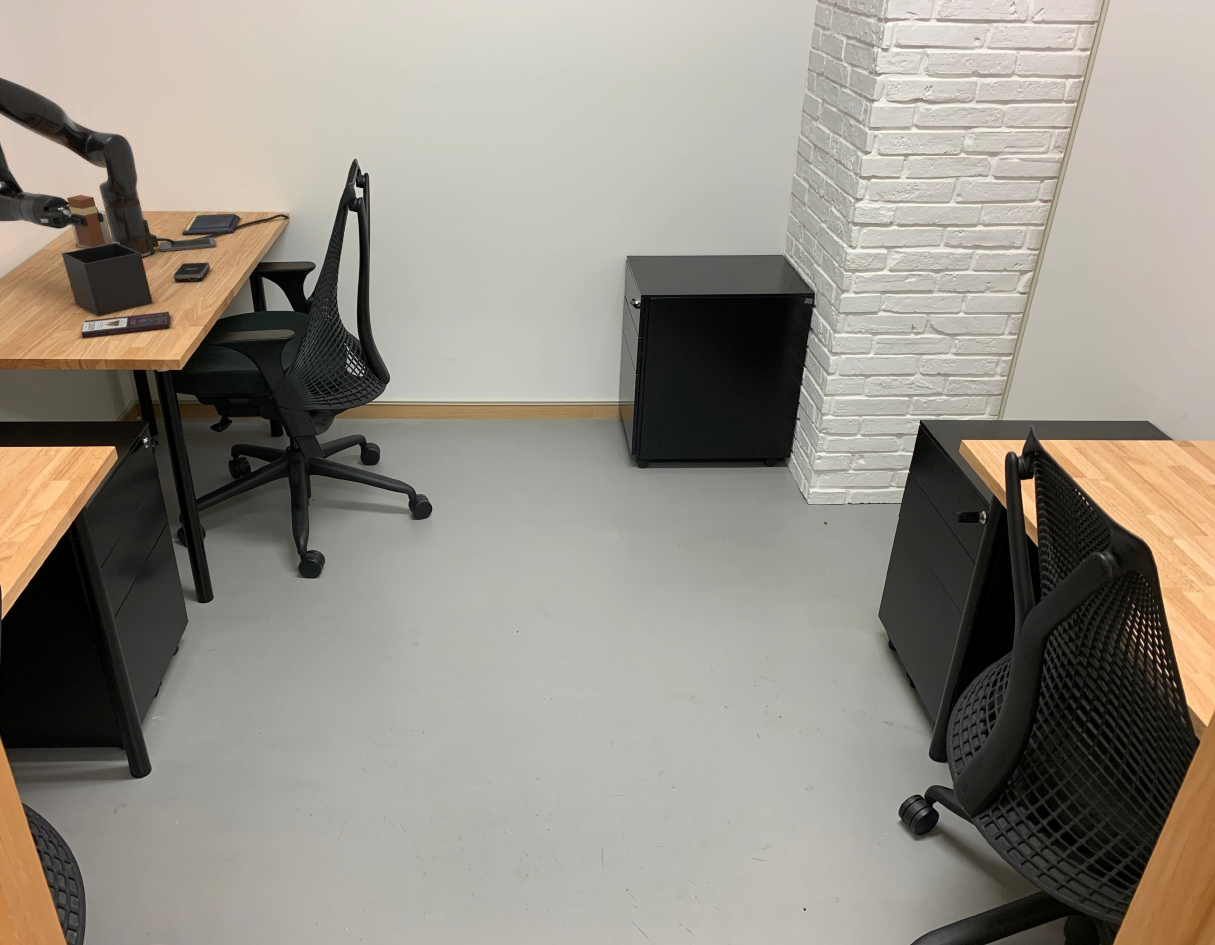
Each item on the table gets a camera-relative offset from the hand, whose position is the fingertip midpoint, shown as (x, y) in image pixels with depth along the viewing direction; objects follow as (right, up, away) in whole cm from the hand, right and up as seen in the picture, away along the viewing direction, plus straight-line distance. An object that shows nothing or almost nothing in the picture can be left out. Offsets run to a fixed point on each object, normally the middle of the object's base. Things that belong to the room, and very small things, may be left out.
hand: (93, 219), depth 218 cm
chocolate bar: (+10, -26, -3) cm, 28 cm away
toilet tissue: (-32, +9, +58) cm, 67 cm away
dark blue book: (-4, +18, +76) cm, 78 cm away
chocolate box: (-3, -5, +4) cm, 7 cm away
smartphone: (-3, +8, +56) cm, 57 cm away
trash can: (-1, -18, +11) cm, 21 cm away
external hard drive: (+10, -7, +31) cm, 33 cm away
